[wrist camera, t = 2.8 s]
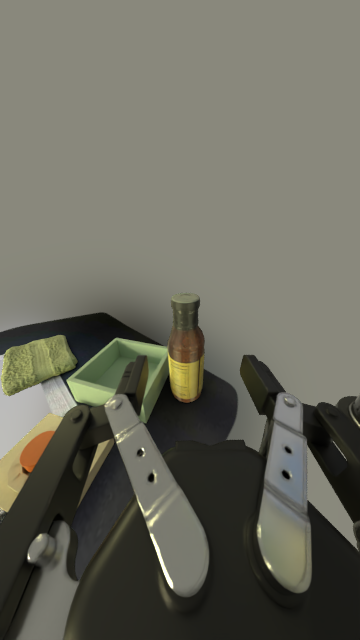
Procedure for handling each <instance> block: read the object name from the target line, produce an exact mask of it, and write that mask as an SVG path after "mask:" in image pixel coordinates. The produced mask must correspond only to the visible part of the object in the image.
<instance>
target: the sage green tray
mask: <svg viewBox="0 0 360 640" xmlns="http://www.w3.org/2000/svg"><path fill="white" fill-rule="evenodd" d="M138 355H147V359H148V368H149V375H148V380H147V385H146V390H145V394H144V399H143V404H142V408H141V413H140V416H138V418H139V420H140V421H142V422H144V423H147V421H148V419H149V416H150V414H151V412H152V410H153V408H154V405H155V403H156V401H157V399H158V397H159V394H160V392H161V390H162V388H163V386H164V384H165V381H166V379H167V377H168V375H169V361H168V350H167V347H165V346H159V345H153V344H148V343H142V342H137V341H131V340H125V339H120V338H115V339H114V340H113V341H112V342H111V343H109V344H108V345H107V346H106V347H105V348H104V349H102V350H101V351H100V352H99V353H98V354H96V355H95V356H94V357H93V358H92V359H91V360H89V361H88V362H87V363H86V364H85V365H84V366H82V367H81V368H80V369H79V370H78V371H77V372H75V373H74V374H73V375H72V376H71V377H70V378H68V379H67V380H66V381H67V383H68V385H69V387H70V389H71V391H72V393H73V396H74V398H75V400H76V401H78V402H81V403H84V404H87V405H90V406H94V407H97V406H100V405H103V404H105V403H106V402H107V401H108V400H109V399H110V398H111V397H112V396H114V395H115V392H116V390H117V388H118V385H119V383H120V380H121V378H122V375H123V373H124V370H125V368H126V366H127V365H128V364H129V363H130V362H135V361H136V358H137V356H138Z"/></svg>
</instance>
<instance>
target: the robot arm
mask: <svg viewBox="0 0 360 640" xmlns="http://www.w3.org/2000/svg"><path fill="white" fill-rule="evenodd" d="M148 375H149V368H148V359H147V355H138V356H137V358H136V361H135V362H130V363H129V364H128V365H127V366H126V368H125V370H124V373H123V375H122V378H121V380H120V383H119V385H118V388H117V390H116V392H115V395H114V396H112V397H111V398H110V399H109V400H108V401H107V402H106V403H105V404H103V405H100V406H97V407H94V408H89V406H87V405H83V404H82V405H78V406H75V407H73V408H72V409H70V410H69V411H68V412H67V413H66V414H65V416H64V417H63V419H62V421H61V422H60V424H59V426H58V428H57V429H56V431H55V433H54V434H53V436H52V438H51V439H50V441H49V443H48V445H47V446H46V448H45V450H44V451H43V453H42V455H41V456H40V458H39V460H38V462H37V463H36V465H35V467H34V468H33V470H32V472H31V473H30V475H29V477H28V478H27V480H26V482H25V484H24V485H23V487H22V489H21V490H20V492H19V494H18V495H17V497H16V499H15V501H14V502H13V504H12V506H11V507H10V509H9V511H8V512H7V514H6V516H5V518H4V519H3V521H2V523H1V524H0V640H360V394H359V396H358V397H357V398H356V399H355V401H353V402H352V403H351V404H350V405H349V407H348V414H349V417H350V419H351V420H352V422H353V423H354V424H353V423H352V422H351V420H350V419H349V418H348V417H347V416H346V415H345V414H344V413H343V412H342V411H341V410H340V409H338V408H337V407H335V406H333V405H331V404H329V403H325V402H321V403H318V405H317V406H316V407H315V406H311V405H307V404H303V403H301V402H300V401H299V400H298V399H297V398H296V397H295V396H293V395H291V394H289V393H286V391H285V390H284V389H283V387H282V386H281V385H280V383H279V382H278V380H277V379H276V378H275V376H274V375H273V374H272V372H271V371H270V369H269V368H268V367H267V366H266V365H265V364H264V363H263V362H261V361H258V360H257V358H256V357H255V356H254V355H244V356H243V359H242V363H241V367H240V375H241V377H242V379H243V381H244V384H245V386H246V388H247V390H248V392H249V394H250V396H251V398H252V400H253V402H254V404H255V406H256V409H257V411H258V413H259V415H266V416H267V421H266V425H265V429H264V434H263V439H262V443H261V447H260V450H259V452H257V451H256V450H253V449H252V448H250V447H247V446H246V445H245V442H244V440H226V441H223V442H220V443H218V444H215V445H212V446H209V445H206V444H202V443H199V442H195V441H176V447H173V448H171V449H169V450H167V451H166V452H164V453H163V454H162V455H161V454H160V452H159V450H158V448H157V446H156V445H155V443H154V441H153V439H152V437H151V435H150V434H149V432H148V430H147V428H146V426H145V425H144V423H143V422H142V421H140V420H139V418H138V416H140V413H141V408H142V404H143V399H144V394H145V390H146V385H147V380H148ZM113 438H115V441H116V444H117V447H118V449H119V452H120V455H121V458H122V460H123V463H124V466H125V469H126V472H127V475H128V478H129V480H130V483H131V486H132V489H133V492H134V495H133V497H132V498H131V500H130V501H129V503H128V504H127V506H126V508H125V509H124V511H123V512H122V514H121V515H120V517H119V518H118V520H117V521H116V523H115V524H114V526H113V527H112V529H111V530H110V532H109V533H108V535H107V536H106V538H105V539H104V541H103V542H102V544H101V545H100V547H99V548H98V550H97V551H96V553H95V554H94V556H93V558H92V559H91V561H90V562H89V564H88V566H87V567H86V569H85V571H84V573H83V575H82V577H81V579H80V581H78V579H77V577H76V573H75V558H76V553H77V548H78V537H77V534H76V532H75V531H74V530H73V529H72V528H71V525H72V522H73V519H74V516H75V513H76V510H77V507H78V504H79V501H80V498H81V495H82V492H83V489H84V486H85V483H86V480H87V477H88V474H89V471H90V468H91V465H92V462H93V459H94V456H95V453H96V450H97V447H98V444H99V443H102V442H105V441H107V440H110V439H113ZM333 441H334V442H335V443H336V445H337V446H338V447H339V449H340V450H341V452H342V453H343V454H344V456H345V457H346V459H347V461H346V459H345V458H344V457H343V455H342V454H341V453H340V451H339V450H338V448H337V447H336V446H335V444H334V443H333ZM307 445H308V447H309V448H310V450H311V452H312V454H313V455H314V457H315V459H316V460H317V462H318V464H319V466H320V467H321V469H322V471H323V472H324V474H325V476H326V477H327V479H328V481H329V483H330V484H331V485H332V488H333V489H334V491H335V493H336V494H337V496H338V498H339V499H340V501H341V503H342V504H343V506H344V508H345V510H346V511H347V513H348V514H349V516H350V518H351V520H352V521H353V523H354V525H353V531H354V535H355V538H356V540H357V548H358V550H359V551H358V550H357V549H356V548H355V547H354V546H353V545H352V544H351V543H350V542H349V541H348V540H347V539H346V538H345V537H344V536H343V535H342V534H341V533H340V532H339V531H338V530H337V529H336V528H335V527H334V526H333V525H332V524H331V523H330V522H329V521H328V520H327V519H326V518H325V517H324V516H323V515H322V514H321V513H320V512H319V511H318V510H317V509H316V508H315V507H314V506H313V505H312V504H311V503H310V502H309V501H308V500H307Z"/></svg>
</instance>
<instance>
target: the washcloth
mask: <svg viewBox="0 0 360 640" xmlns="http://www.w3.org/2000/svg"><path fill="white" fill-rule="evenodd" d="M76 359H77V358H75V356H74V355H73V354H72V352H71V350H70V348H69V346H68V344H67V339H66V337H65V336H63V335H58V336H54V337H51V338H46V339H41V340H36V341H32V342H30V343H28V344H26V345H23V346H17V347H12V348H10V349H9V350H7V351H6V353H5V355H4V360H3V361H4V363H3V369H2V373H3V374H2V376H1V381H2V387H3V392H4V393H5V394H6V395H8V396H11V395H14V394H15V393H18V392H20V391H22V390H24V389H26V388H28V387H32V386H33V385H37V384H39V383H41V381H44V380H46V379H49V378H51V377H53V376H58V375H60V374H62V373H65V372H67V371H69V370H72V369H74V368H75V367H76V365H75V364H76V363H77V362H78V361H77V360H76Z"/></svg>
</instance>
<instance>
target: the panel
mask: <svg viewBox="0 0 360 640" xmlns="http://www.w3.org/2000/svg"><path fill="white" fill-rule="evenodd" d="M62 419H63V417H60V416H57V415H54V414H52V413H49V414H48V415H47V416H46V417H45V418H44V419H43V420H41V421H40V423H38V424H37V425H36V426H35V427H34V428H33V429H32V430H31V431H30V432H29V433H28V434H27V435H26V436H25V437H24V438H23V439H22V440H21V441H19V442H18V443H17V444H16V445H15V446H14V447H13V448H12V449H11V450H10V451H9V452H8V453H7V454H6V455H5V456H4V457H3V458H2V459H1V460H0V508H1V509H3V510H4V511H6V512H8V511H9V509H10V507H11V506H12V504H13V502H14V501H15V499H16V497H17V495H18V494H19V492H20V490H21V489H22V487H23V485H24V484H25V482H26V480H27V478H28V477H29V475H30V473H29V472H28V471H27V470H26V469H25V468H24V467H23V466H22V465H21V464H20V455H21V453H22V451H23V449H24V448H25V446H26V445H27V444H28V443H29V442H30V441H31V440H32V439H33V438H35V437H36V436H38V435H39V434H41V433H43V432H46V431H56V429H57V428H58V426H59V424H60V422H61V421H62ZM114 443H115V442H114V439H110V440H107V441H105V442H102V443H99V444H98V447H97V450H96V453H95V456H94V459H93V462H92V465H91V468H90V471H89V474H88V477H87V480H86V483H85V486H84V489H83V492H82V495H81V498H80V501H79V504H80V502H81V501H82V499H83V497H84V495H85V494H86V492H87V490H88V488H89V487H90V485H91V483H92V481H93V480H94V478H95V476H96V474H97V473H98V471H99V469H100V467H101V466H102V464H103V462H104V460H105V459H106V457H107V455H108V453H109V452H110V450H111V448H112V446H113V445H114ZM79 504H78V506H79ZM77 508H78V507H77Z"/></svg>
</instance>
